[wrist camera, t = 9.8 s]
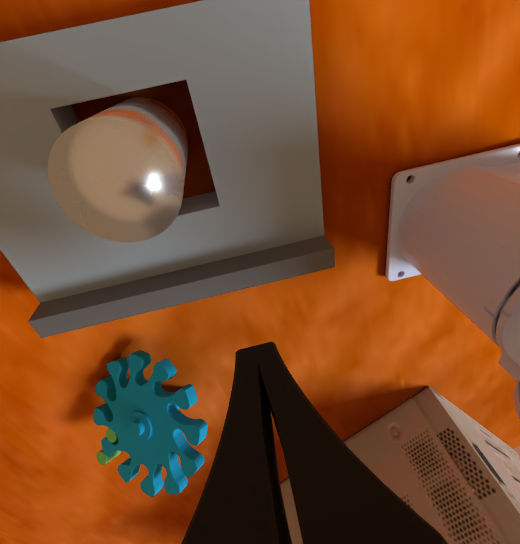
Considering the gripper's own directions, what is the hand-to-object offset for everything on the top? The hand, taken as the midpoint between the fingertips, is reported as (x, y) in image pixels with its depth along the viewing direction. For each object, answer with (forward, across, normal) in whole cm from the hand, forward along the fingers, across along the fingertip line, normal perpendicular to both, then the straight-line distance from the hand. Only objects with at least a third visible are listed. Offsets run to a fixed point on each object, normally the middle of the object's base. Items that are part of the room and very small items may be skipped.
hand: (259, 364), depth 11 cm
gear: (+10, +10, +11) cm, 18 cm away
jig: (+10, +3, -5) cm, 11 cm away
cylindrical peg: (+10, +3, -6) cm, 12 cm away
